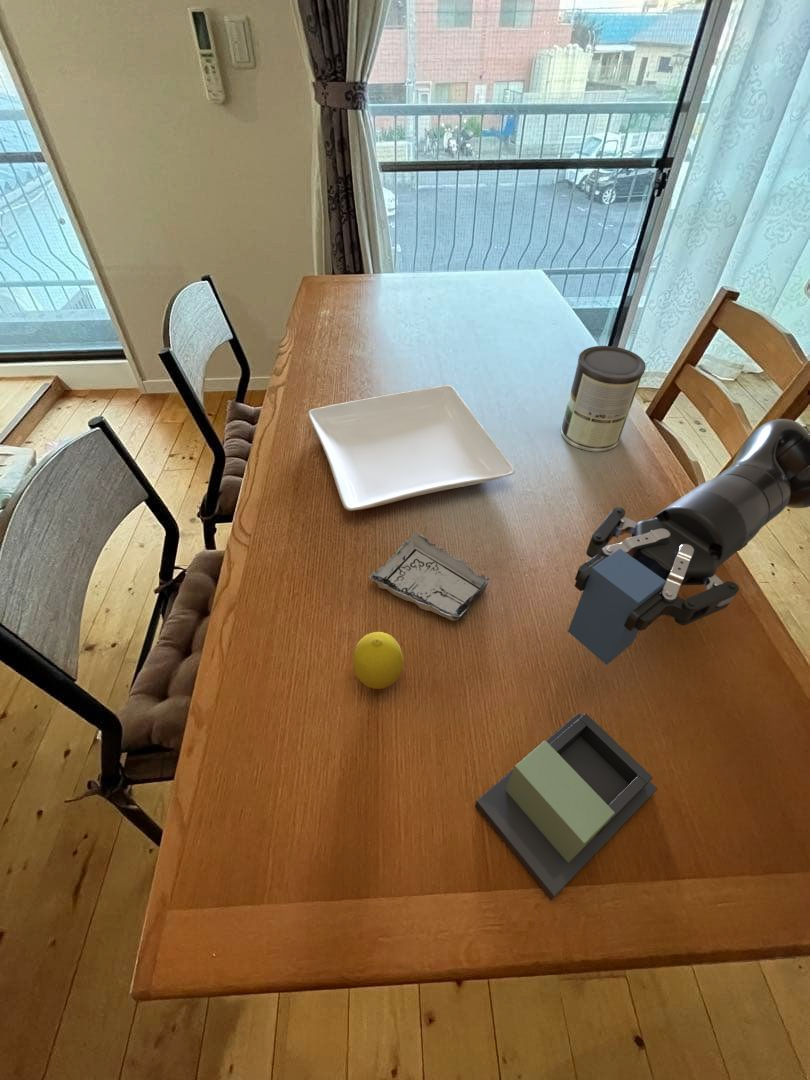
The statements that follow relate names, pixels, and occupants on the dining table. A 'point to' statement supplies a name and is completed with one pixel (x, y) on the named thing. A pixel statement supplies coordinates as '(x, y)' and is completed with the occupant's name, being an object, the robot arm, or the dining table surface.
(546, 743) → the seat frame
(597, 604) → the blue rectangular block
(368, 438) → the square plate
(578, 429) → the coffee can
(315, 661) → the dining table surface
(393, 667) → the lemon
